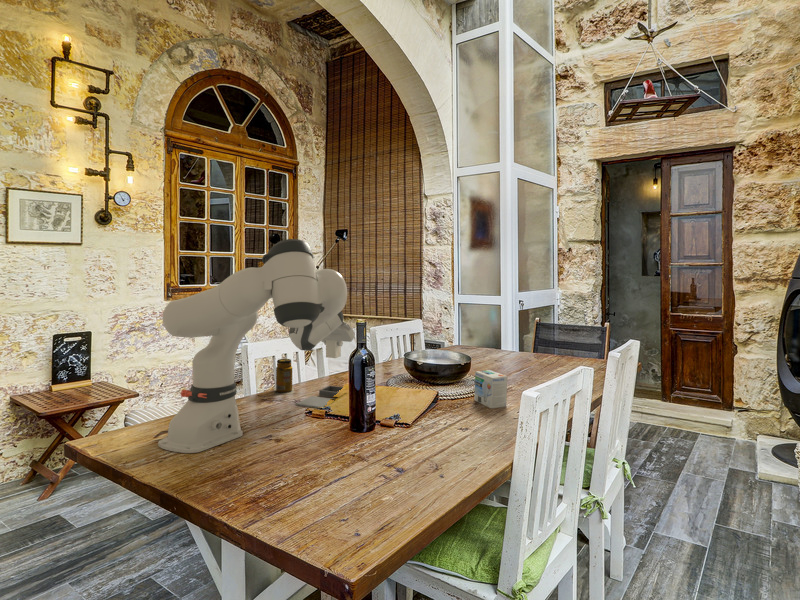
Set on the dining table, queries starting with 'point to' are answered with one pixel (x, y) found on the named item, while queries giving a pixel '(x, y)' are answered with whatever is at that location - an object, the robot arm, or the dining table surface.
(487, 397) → the light bulb box
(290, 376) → the condiment
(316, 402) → the tile
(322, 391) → the collar
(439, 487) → the dining table surface
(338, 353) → the post
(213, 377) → the robot arm
